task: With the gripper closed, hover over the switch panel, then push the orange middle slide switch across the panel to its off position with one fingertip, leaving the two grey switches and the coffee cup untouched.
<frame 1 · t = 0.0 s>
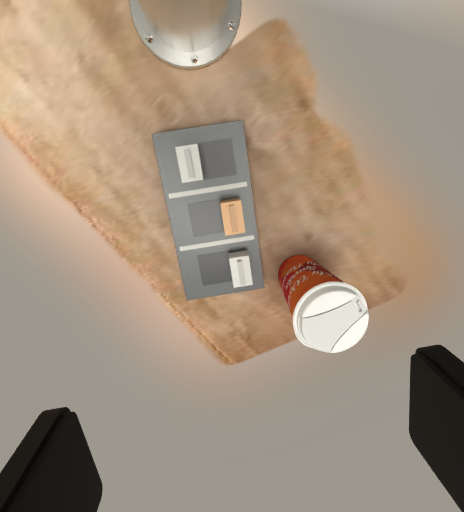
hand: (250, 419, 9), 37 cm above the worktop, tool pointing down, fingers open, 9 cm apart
switch panel: (212, 213, 44), on the worktop
switch 1: (190, 163, 37), point 5 cm above the worktop, slide at 4.0 cm
switch 2: (232, 216, 39), point 5 cm above the worktop, slide at 0.0 cm
switch 3: (240, 269, 41), point 5 cm above the worktop, slide at 0.0 cm
coffee cup: (297, 273, 47), on the worktop
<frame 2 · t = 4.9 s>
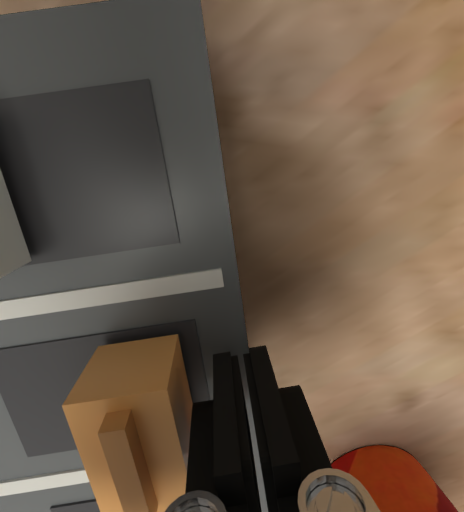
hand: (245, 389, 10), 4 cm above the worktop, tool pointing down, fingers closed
switch panel: (117, 344, 14), on the worktop
switch 2: (141, 430, 9), point 5 cm above the worktop, slide at 0.4 cm, touching gripper
coffee cup: (366, 484, 17), on the worktop
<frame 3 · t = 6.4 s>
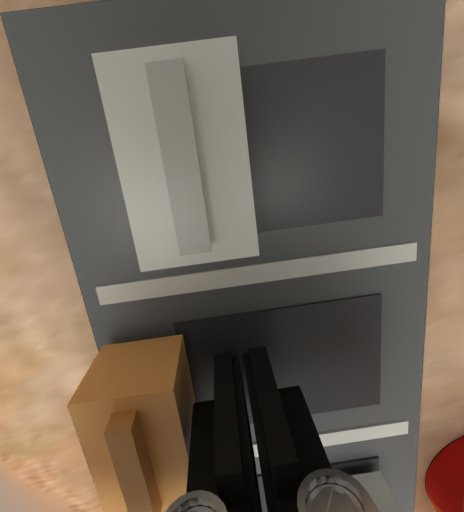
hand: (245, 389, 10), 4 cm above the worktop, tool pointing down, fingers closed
switch panel: (256, 324, 14), on the worktop
switch 1: (187, 164, 7), point 5 cm above the worktop, slide at 4.0 cm
switch 2: (145, 431, 9), point 5 cm above the worktop, slide at 6.4 cm, touching gripper
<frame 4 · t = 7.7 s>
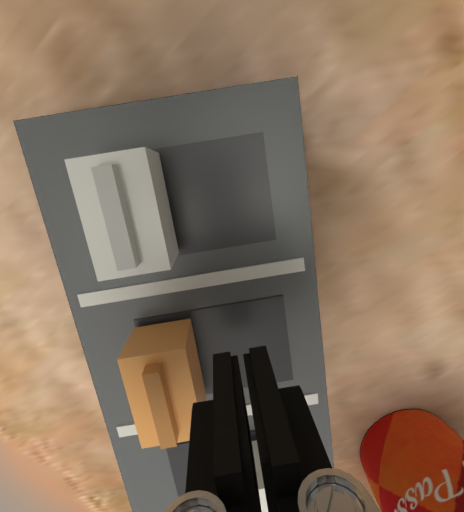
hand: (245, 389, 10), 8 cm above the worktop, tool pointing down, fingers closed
switch panel: (207, 323, 18), on the worktop
switch 1: (128, 214, 11), point 5 cm above the worktop, slide at 4.0 cm
switch 2: (166, 384, 13), point 5 cm above the worktop, slide at 4.1 cm
switch 3: (284, 499, 15), point 5 cm above the worktop, slide at 0.0 cm
coffee cup: (401, 445, 21), on the worktop
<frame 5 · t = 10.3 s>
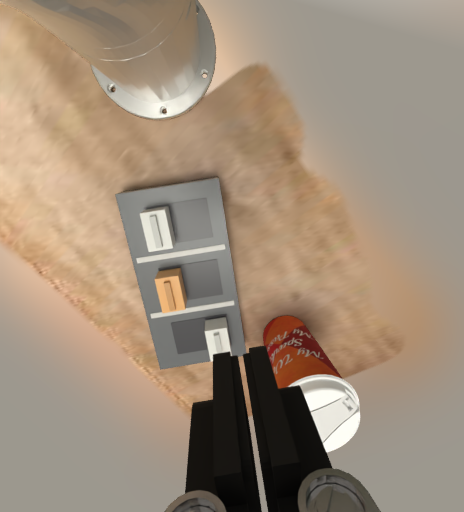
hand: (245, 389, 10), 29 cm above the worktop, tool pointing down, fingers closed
switch panel: (188, 273, 39), on the worktop
switch 1: (158, 229, 33), point 5 cm above the worktop, slide at 4.0 cm
switch 2: (171, 291, 35), point 5 cm above the worktop, slide at 4.1 cm
switch 3: (218, 340, 37), point 5 cm above the worktop, slide at 0.0 cm
coffee cup: (283, 334, 43), on the worktop
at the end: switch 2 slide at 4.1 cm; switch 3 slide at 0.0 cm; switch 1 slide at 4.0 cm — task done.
